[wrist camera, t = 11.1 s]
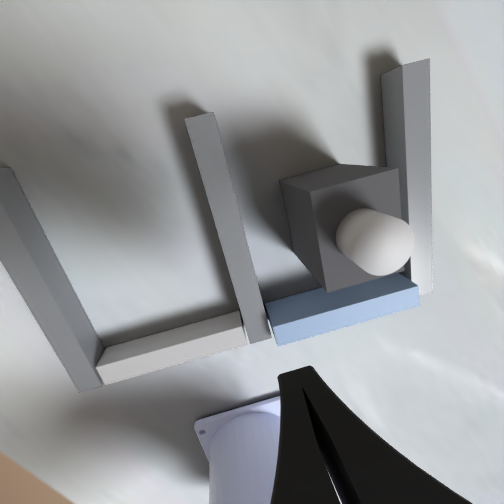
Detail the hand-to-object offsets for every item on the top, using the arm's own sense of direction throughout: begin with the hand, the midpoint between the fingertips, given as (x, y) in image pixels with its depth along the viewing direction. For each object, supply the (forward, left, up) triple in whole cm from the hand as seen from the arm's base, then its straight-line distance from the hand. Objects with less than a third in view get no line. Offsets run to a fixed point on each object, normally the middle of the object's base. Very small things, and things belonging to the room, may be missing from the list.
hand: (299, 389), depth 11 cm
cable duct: (+4, +1, -9) cm, 10 cm away
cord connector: (+4, -5, -10) cm, 11 cm away
